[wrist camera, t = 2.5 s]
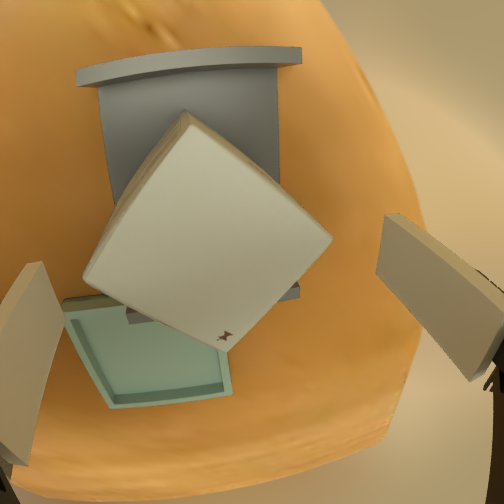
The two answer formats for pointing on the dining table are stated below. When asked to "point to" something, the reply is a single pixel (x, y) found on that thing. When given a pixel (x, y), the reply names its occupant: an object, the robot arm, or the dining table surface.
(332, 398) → the dining table surface
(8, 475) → the smart speaker
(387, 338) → the dining table surface
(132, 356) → the tray
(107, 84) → the bay
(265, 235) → the supplement box
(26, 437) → the robot arm
